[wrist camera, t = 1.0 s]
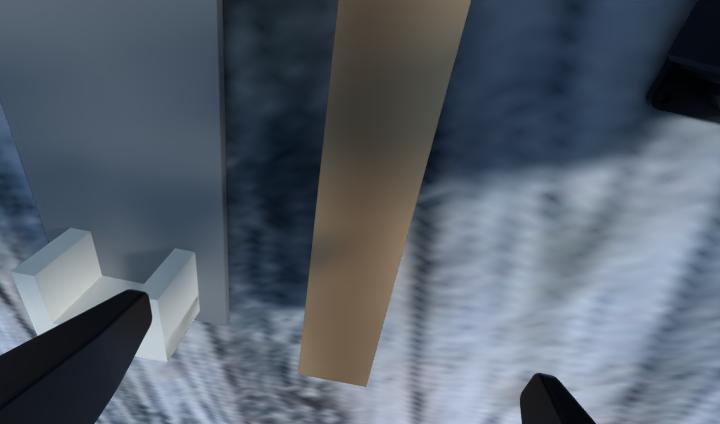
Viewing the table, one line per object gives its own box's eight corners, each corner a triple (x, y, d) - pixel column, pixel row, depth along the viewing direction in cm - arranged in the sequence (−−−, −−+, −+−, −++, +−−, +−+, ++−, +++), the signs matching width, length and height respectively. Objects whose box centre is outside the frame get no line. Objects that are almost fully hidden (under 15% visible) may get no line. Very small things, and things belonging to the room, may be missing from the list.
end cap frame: (215, -322, 11) (114, -488, 7) (229, 319, 26) (198, 378, 22) (-148, -396, 11) (-448, -605, 7) (73, 288, 26) (14, 342, 22)
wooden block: (468, -92, 14) (508, -140, 8) (373, 301, 24) (366, 386, 19) (374, -109, 14) (356, -167, 8) (320, 291, 24) (298, 374, 19)
